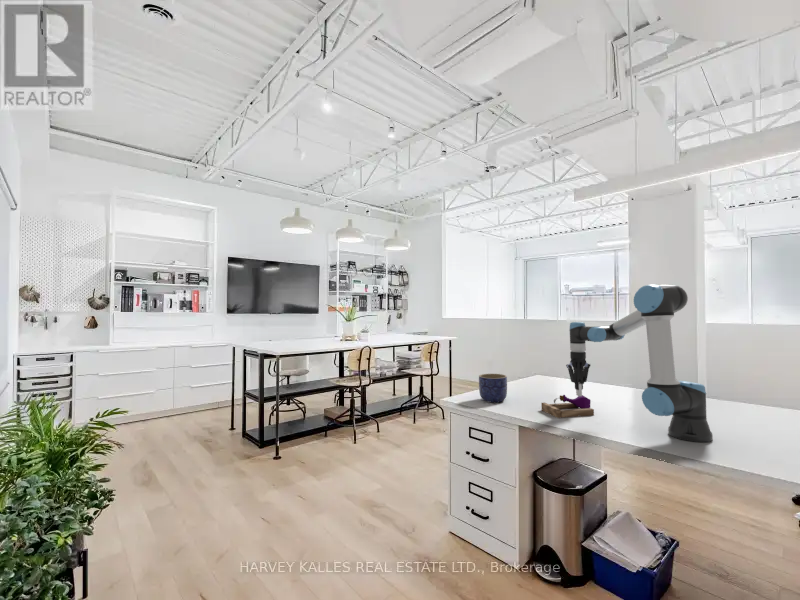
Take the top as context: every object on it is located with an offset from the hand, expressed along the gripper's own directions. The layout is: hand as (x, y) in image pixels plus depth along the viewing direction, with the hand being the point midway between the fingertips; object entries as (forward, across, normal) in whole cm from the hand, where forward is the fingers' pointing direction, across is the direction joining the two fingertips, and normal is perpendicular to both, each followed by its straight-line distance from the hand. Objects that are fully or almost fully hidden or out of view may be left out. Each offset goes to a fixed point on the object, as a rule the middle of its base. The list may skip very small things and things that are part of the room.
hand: (579, 395), depth 207 cm
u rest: (+9, +7, 0) cm, 11 cm away
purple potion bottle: (+4, -6, 0) cm, 7 cm away
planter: (+9, +34, -34) cm, 49 cm away
